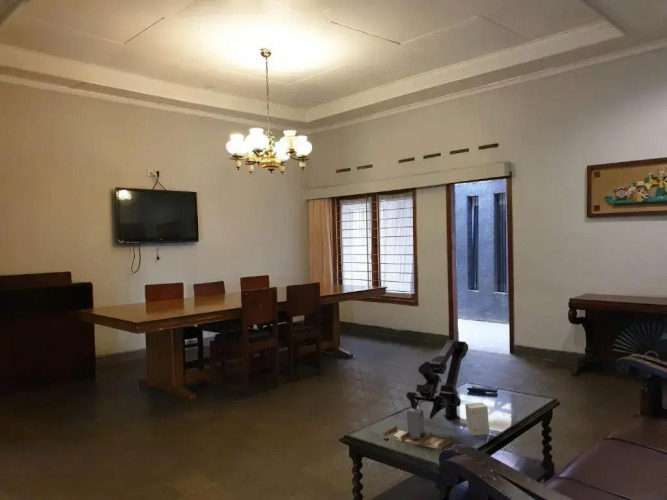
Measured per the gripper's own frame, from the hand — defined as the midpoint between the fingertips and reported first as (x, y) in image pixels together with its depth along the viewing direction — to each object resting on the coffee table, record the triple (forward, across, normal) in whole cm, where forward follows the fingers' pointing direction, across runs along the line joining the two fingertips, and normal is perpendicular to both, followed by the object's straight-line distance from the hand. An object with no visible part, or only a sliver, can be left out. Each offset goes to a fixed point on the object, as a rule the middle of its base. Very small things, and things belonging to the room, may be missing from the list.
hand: (421, 416), depth 228 cm
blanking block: (+9, 0, +2) cm, 10 cm away
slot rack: (+10, 0, +3) cm, 10 cm away
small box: (-4, +20, +17) cm, 26 cm away
